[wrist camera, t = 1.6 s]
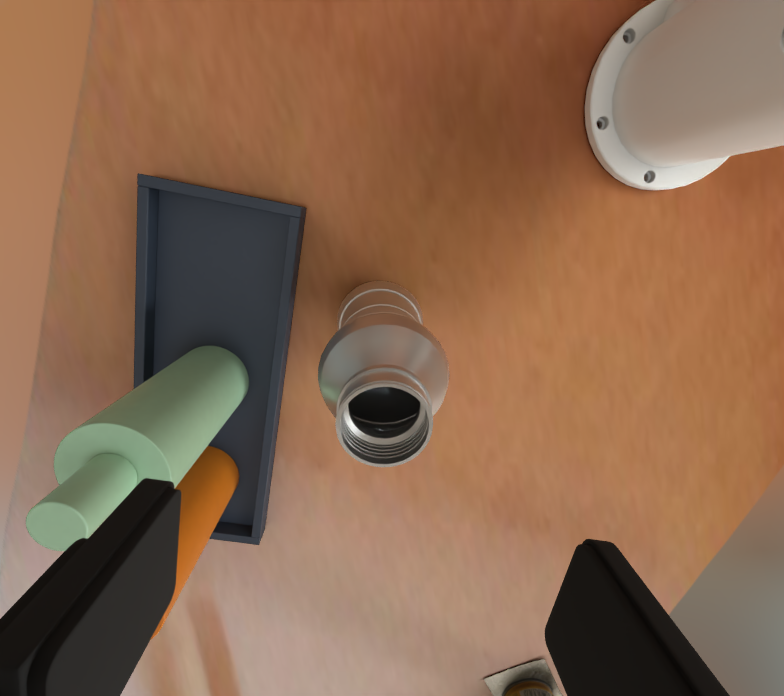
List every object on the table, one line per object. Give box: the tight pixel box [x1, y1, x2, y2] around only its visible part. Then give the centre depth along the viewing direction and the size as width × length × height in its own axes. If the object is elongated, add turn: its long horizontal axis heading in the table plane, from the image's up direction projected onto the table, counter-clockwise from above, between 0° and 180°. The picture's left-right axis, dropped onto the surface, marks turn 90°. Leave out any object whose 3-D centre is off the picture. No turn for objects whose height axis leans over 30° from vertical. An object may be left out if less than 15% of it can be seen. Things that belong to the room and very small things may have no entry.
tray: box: [134, 173, 306, 545], centre depth 35 cm, size 31×12×2 cm, turn 169°
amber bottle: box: [150, 446, 239, 640], centre depth 29 cm, size 6×6×18 cm
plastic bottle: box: [318, 281, 449, 467], centre depth 25 cm, size 6×7×20 cm
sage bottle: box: [26, 346, 249, 551], centre depth 27 cm, size 6×6×18 cm
